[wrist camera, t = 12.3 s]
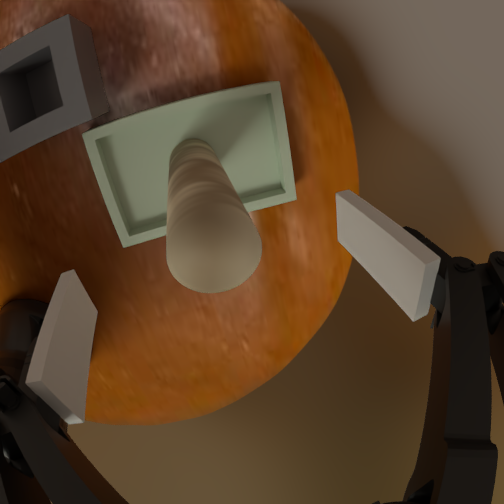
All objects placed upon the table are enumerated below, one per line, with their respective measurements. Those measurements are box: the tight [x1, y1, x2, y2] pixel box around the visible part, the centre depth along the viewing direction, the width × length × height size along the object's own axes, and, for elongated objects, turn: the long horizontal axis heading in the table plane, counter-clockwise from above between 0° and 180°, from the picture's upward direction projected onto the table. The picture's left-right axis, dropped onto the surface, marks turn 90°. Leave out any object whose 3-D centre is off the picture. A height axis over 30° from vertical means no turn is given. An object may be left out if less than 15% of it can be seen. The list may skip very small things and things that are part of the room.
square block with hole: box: [0, 14, 110, 163], centre depth 19 cm, size 9×9×7 cm
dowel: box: [166, 138, 262, 293], centre depth 21 cm, size 4×4×17 cm
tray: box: [82, 81, 297, 248], centre depth 28 cm, size 18×12×3 cm, turn 100°
